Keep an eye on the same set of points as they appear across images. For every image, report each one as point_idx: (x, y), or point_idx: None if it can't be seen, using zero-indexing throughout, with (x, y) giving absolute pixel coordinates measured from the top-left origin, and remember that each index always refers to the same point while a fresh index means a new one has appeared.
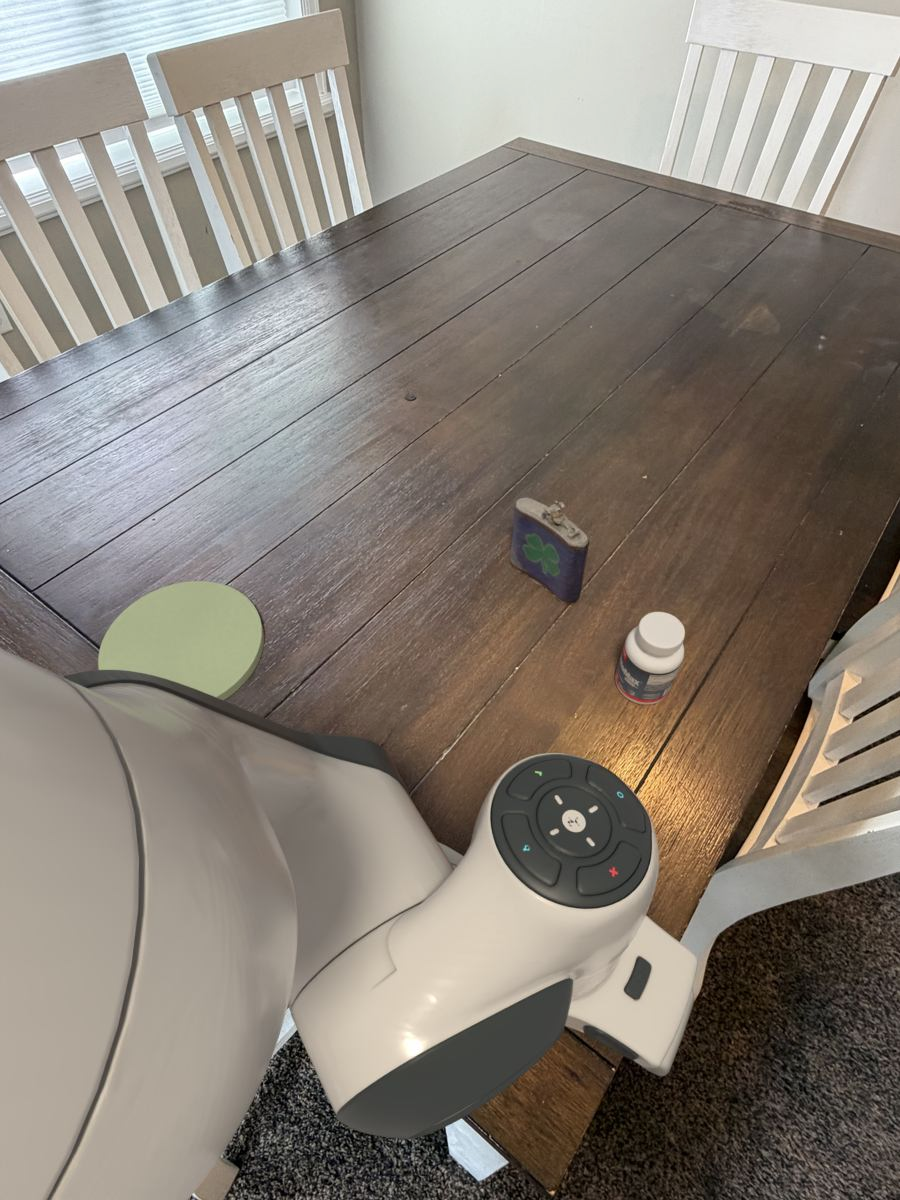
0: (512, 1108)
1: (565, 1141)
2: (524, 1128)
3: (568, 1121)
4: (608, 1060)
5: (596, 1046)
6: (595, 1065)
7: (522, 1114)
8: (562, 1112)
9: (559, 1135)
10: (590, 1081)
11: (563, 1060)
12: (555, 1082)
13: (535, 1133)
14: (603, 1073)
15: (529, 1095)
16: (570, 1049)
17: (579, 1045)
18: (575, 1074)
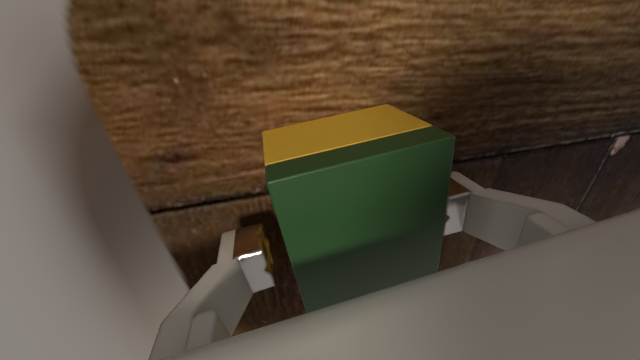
0: (210, 19)
1: (75, 52)
2: (159, 3)
3: (109, 89)
4: (153, 214)
5: (184, 214)
6: (161, 194)
7: (185, 25)
8: (132, 93)
9: (95, 52)
10: (145, 171)
11: (206, 161)
12: (187, 124)
13: (133, 13)
14: (141, 196)
15: (204, 68)
16: (211, 181)
17: (205, 196)
18: (173, 160)
